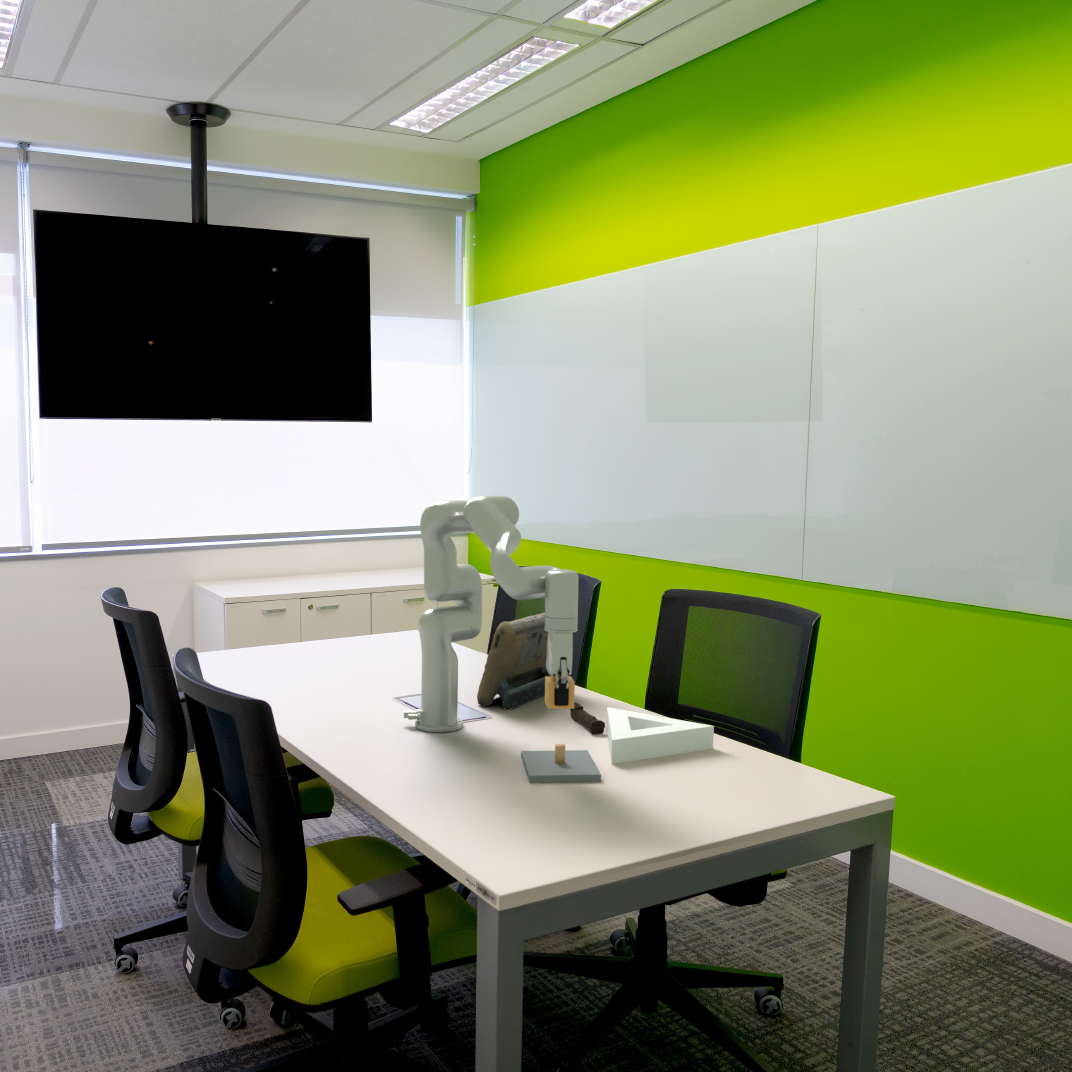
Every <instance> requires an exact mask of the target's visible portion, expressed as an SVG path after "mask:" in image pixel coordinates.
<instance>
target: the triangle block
mask: <svg viewBox="0 0 1072 1072" xmlns="http://www.w3.org/2000/svg"><path fill="white" fill-rule="evenodd" d="M714 728H715V725H712V724H711V725H710V724H705V723H699V722H694V721H686V720H681V719H677V718H671V717H665V716H658V715H654V714H648V713H643V712H636V711H630V710H625V709H619V708H616V707H615V708H614V707H609V706H607V707H606V734H607V741H608V749H609V757H610V763H611V765H613V764H619V763H625V762H632V761H633V762H634V761H641V760H645V759H653V758H659V757H666V756H673V755H679V754H685V753H693V752H698V751H704V750H712V749H714V734H715V729H714Z"/></svg>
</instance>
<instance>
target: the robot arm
mask: <svg viewBox="0 0 1072 1072" xmlns="http://www.w3.org/2000/svg"><path fill="white" fill-rule="evenodd" d="M519 518H520V511H519V507H518V505H517V503H516V501H514V500H513V499H512V498H511V497H509V496H506V495H486V496H485V495H481V496H476V497H473V498H471V499H470V500H469V499H467V500H441V501H436V502H433V503H430V504H428V505H427V506H426V508H425V509H424V510H423V512H422V514H421V517H420V523H419V528H420V535H421V540H422V545H423V546H422V547H423V586H424V587H423V588H424V589H423V590H424V594H425V596H426V598H427V599H428V600H429V601H430V602H435V603H445V602H446V603H447V602H456V605H446V606H445V605H444V606H437V607H432V608H429V609H427V610H425V611H424V612H423V613H422V614H421V615H420V617H419V619H418V633H419V635H418V636H419V639H420V645H421V646H420V647H421V649H420V650H421V691H420V692H421V696H420V697H421V698H420V699H421V700H420V701H421V702H420V707H419V709H415V710H403V718H404V719H408V720H411V721H412V720H415V722H414V727H415V728H416V729H418V730H420V731H423V732H430V733H447V732H453V731H458V730H460V729H461V728H463V726H464V721H463V720H462V719H461V718H460V717H459V718H458V700H459V699H458V698H459V697H458V696H459V693H458V692H459V660H458V658H459V657H458V655H457V653H456V651H455V649H454V648H453V645H452V643H456V642H463V641H469V640H473V639H475V638H476V637H477V636H479V634H480V633H481V631H482V627H483V626H482V625H483V581H482V578H481V575H480V573H479V571H478V569H477V568H476V567H475V566H473V565H472V564H468V563H458V561H457V556H458V555H457V554H458V553H457V547H456V545H455V542H454V541H453V539H452V537H451V536H450V535H451V534H472V533H474V534H476V536H477V537H478V538H479V539H480V541H481V542H482V544H484V546H485V547H486V548H487V549H488V551H490V557H489V558H490V559H489V562H490V568H491V573H492V576H493V578H494V579H495V581H496V583H497V584H498V585H499V587H501V589H502V590H503V591H504V592H505V593H506V594H507V595H508V596H509V597H510V598H512V599H514V600H517V601H525V600H534V599H535V600H536V599H544V613H545V631H547V632H548V639H547V657H546V668H547V670H548V672H549V674H550V675H551V676H552V677H556V688H555V693H554V704H555V706H568V705H569V684H568V676H570V675H572V672H573V648H574V647H573V642H574V641H573V638H574V637H573V633H576V632H578V627H579V626H578V619H579V617H578V616H579V613H578V611H579V574H578V572H577V571H575V570H572V569H564V568H563V569H562V568H561V569H560V568H558V567H555V566H552V565H533V566H521V567H520V566H519V565H518V564H517V563H516V562H515V560H513V559H512V557H511V556H510V555H512V554H513V553H514V552H515V551H516V550H517V548H518V547H519V546H520V544H521V540H522V534H521V531H520V530H519V529H518V528H517V527H516V525H517V523H518V522H519ZM559 678H560V679H559Z"/></svg>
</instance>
